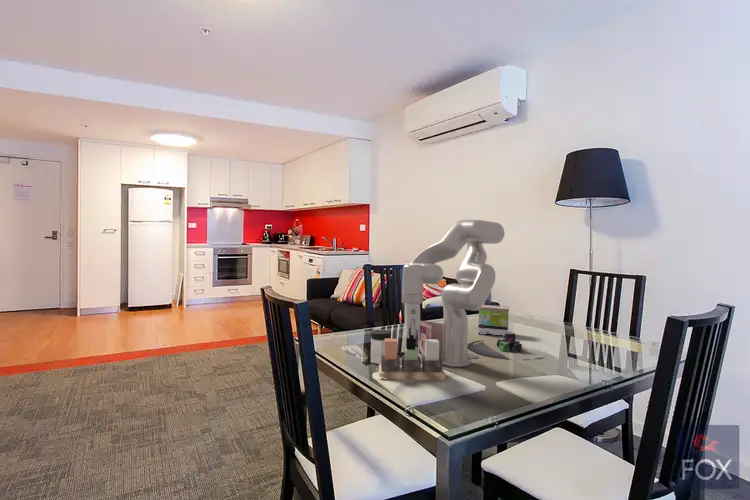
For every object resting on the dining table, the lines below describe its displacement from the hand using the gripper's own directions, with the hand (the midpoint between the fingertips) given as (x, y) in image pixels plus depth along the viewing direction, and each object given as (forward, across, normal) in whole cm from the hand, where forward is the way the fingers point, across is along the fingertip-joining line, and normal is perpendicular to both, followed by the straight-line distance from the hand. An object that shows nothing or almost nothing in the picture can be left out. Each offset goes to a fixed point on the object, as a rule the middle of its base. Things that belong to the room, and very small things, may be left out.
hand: (410, 348), depth 154 cm
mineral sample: (+10, +39, -47) cm, 62 cm away
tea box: (+9, +71, -50) cm, 88 cm away
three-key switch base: (+9, 0, 0) cm, 9 cm away
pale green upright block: (+7, 0, 0) cm, 7 cm away
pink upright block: (+4, 0, +7) cm, 8 cm away
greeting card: (+10, +22, -10) cm, 26 cm away
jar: (+10, +16, +10) cm, 22 cm away
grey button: (+4, 0, -8) cm, 9 cm away
